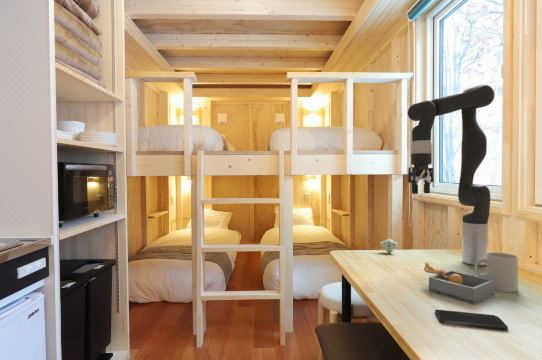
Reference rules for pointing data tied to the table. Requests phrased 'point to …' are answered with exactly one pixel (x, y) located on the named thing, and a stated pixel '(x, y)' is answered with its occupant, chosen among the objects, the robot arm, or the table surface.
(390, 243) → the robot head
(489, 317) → the phone
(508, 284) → the mug
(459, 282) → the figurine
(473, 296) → the tote
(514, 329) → the table surface
